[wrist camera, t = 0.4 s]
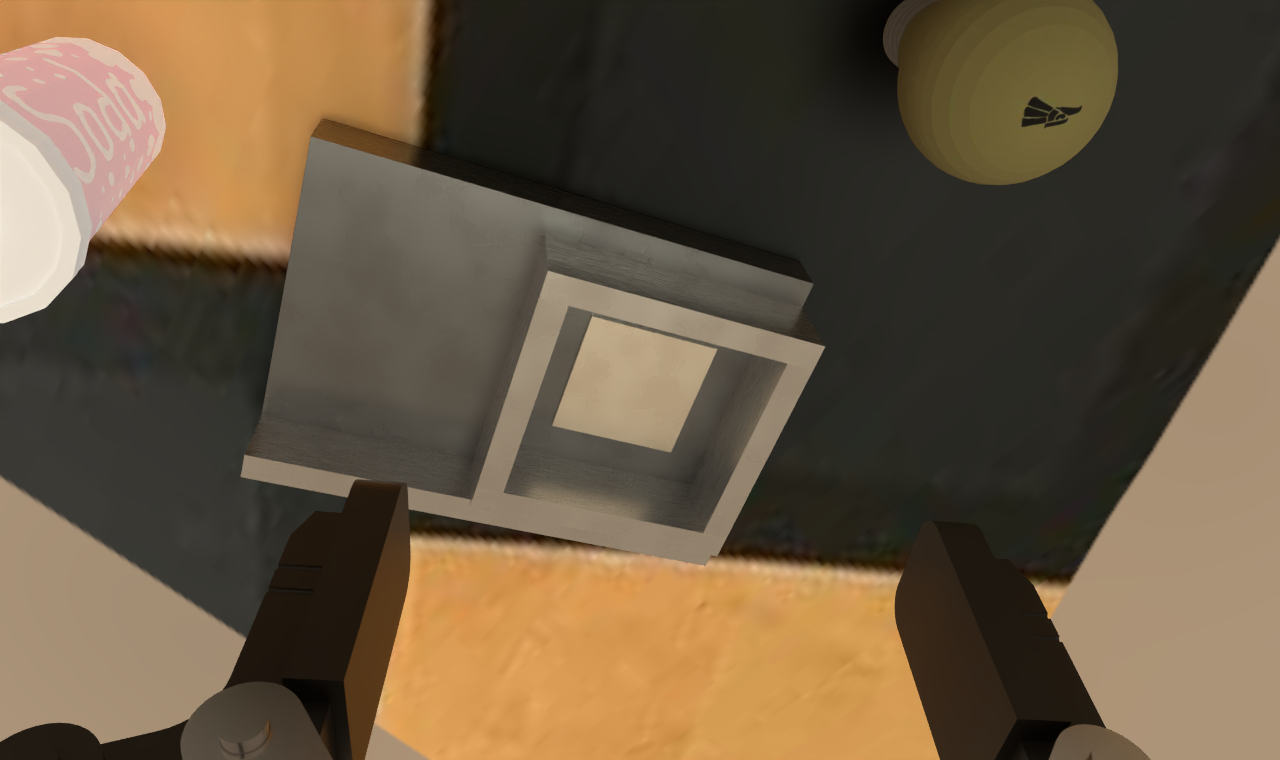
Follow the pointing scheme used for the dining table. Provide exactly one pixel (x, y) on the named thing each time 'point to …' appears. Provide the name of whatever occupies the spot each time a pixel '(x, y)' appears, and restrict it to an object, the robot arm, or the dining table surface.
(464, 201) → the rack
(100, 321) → the dining table surface
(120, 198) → the beverage cup
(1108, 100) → the light bulb
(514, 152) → the dining table surface
